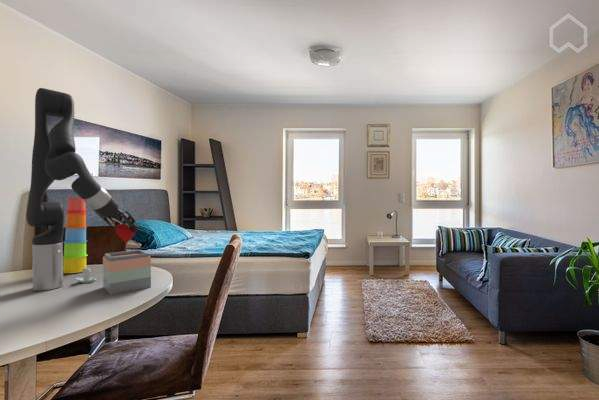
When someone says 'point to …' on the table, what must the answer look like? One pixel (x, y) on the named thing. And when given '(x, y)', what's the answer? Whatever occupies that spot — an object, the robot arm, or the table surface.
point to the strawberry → (124, 232)
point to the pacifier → (86, 276)
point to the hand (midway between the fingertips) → (129, 230)
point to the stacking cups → (75, 237)
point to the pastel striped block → (126, 271)
